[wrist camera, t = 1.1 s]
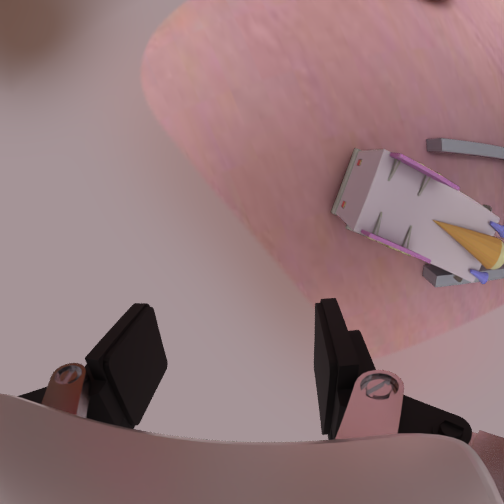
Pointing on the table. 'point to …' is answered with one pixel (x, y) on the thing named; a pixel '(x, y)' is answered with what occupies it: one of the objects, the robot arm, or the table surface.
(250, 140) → the table surface
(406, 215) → the toy vehicle
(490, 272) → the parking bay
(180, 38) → the table surface
